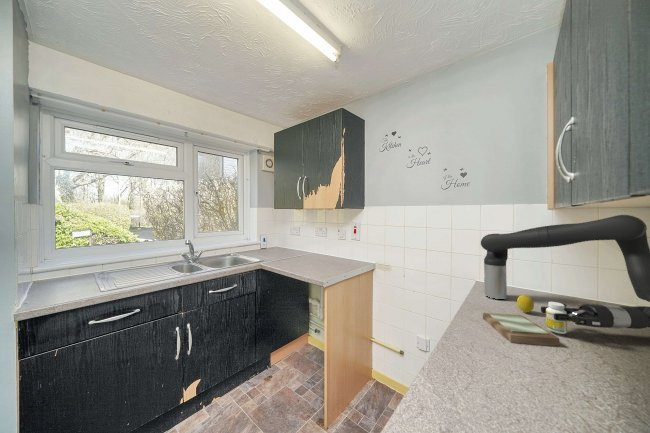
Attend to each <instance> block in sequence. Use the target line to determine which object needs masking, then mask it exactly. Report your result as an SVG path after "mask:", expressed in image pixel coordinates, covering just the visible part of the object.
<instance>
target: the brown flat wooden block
mask: <svg viewBox="0 0 650 433" xmlns="http://www.w3.org/2000/svg"><path fill="white" fill-rule="evenodd" d="M482 320H484V321H485V322H486V323H487V324H489V325H490V326H491V327H492V328H493V329H494V330H496V332H498V333H499V334H500V335H502V337H503V338H505V340H507V341H508V342H510V344H511V343H512V344H513V343H514V344H525V345H527V344H528V345H537V346H538V345H539V346H551V347H560V338H559V337H557V336H556V335H555V334H553V333H552V332H551V331H549V330H547V329H545V328H543V327H541V326H540V325H538V324H537V323H535V322H534V321H532V320H530V319H529V318H527V317H525V316H524V315H522V314H513V313H511V314H510V313H496V312H495V313H493V312H483V313H482Z"/></svg>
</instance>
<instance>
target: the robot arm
mask: <svg viewBox="0 0 650 433" xmlns="http://www.w3.org/2000/svg"><path fill="white" fill-rule="evenodd" d="M647 228H648V227H647V225H646V223H645V222H644V220H642V219H641V218H639V217H636V216H634V215H631V214H630V215H629V214H619V215H614V216H609V217H605V218H600V219H595V220H590V221H586V222H579V223H575V222H574V223H563V224H562V223H560V224H553V225H552V224H551V225H550V224H549V225H544V226H538V227H533V228H527V229H523V230H518V231H515V232H510V233H489V234H486V235H484V236H483V237H482V238H481V240H480V246H481V247H482V248H483V250H485V251H486V256H485V257H484V258H483V267H484V268H483V271H484V272H483V273H484V274H483V275H484V279H483V280H484V281H483V282H484V284H483V285H484V286H483V289H484V290H483V291H484V296H485V295H486V296H488V297H491V298H495V299H506V298H507V299H508V295H507V282H508V281H507V262H508V258H509V257H508V256H509V254H508V251H509V250H511V249H533V248H534V249H536V248H537V249H539V248H540V249H541V248H552V247H553V248H554V247H561V246H562V247H563V246H569V245H573V244H580V243H582V242H583V243H584V242H591V241H615V242H616V243H617V245H618V246H619V249H620V251H621V253H622V256H623V258H624V263H625V266H626V271H627V274H628V278H629V280H630V283H631V285H632V288H633V291H634V293H635V294H636V296H637V298H638V299H640V300H643V301H646V302H647V303H650V246H649V241H648V235H647ZM486 296H485V297H486ZM488 297H487V298H488ZM495 299H494V300H495ZM507 299H506V300H507ZM562 304H563V305H564V311H566V313H567V314H560V313H555V314H554V319H555V320H559V321H567V322H568V323H574V324H575V325H578V326H584V327H592V328H601V329H602V328H607V329H632V330H633V329H636V330H637V329H639V330H640V329H641V330H642V329H645V328H650V306H648V305H647V306H643V305H640V306H639V305H638V306H636V305H635V306H624V305H623V306H621V305H612V304H599V303H598V304H597V303H596V304H594V303H584V304H581V305H580V306H579V307H576V306H567V305H568V304H566V303H562ZM548 307H549V306H541V307H540V312H541V313H542V314H546V308H548Z"/></svg>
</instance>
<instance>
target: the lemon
mask: <svg viewBox="0 0 650 433" xmlns="http://www.w3.org/2000/svg"><path fill="white" fill-rule="evenodd" d="M516 304H517V308H518V309H520V310H521V311H522V312H523V313H525V314H527V313H530V312H532V311H533V310H534V309H535V305H534V304H535V303H534V300H533V299H532V298H531V297H530V296H529V295H527V294H522V295H519V296H518V298H517V300H516Z"/></svg>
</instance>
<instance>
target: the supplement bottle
mask: <svg viewBox="0 0 650 433" xmlns="http://www.w3.org/2000/svg"><path fill="white" fill-rule="evenodd" d="M563 304H564V303H561V302H556V301H548V305H547V307H548V308H546V313H545V326H546V330H547V331H549V332H553V333H556V334H563V335H565V334H567V333H568V321H559V320H555V319H554V314H555V313H560V314H567V313H566V311H564V305H563Z"/></svg>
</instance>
